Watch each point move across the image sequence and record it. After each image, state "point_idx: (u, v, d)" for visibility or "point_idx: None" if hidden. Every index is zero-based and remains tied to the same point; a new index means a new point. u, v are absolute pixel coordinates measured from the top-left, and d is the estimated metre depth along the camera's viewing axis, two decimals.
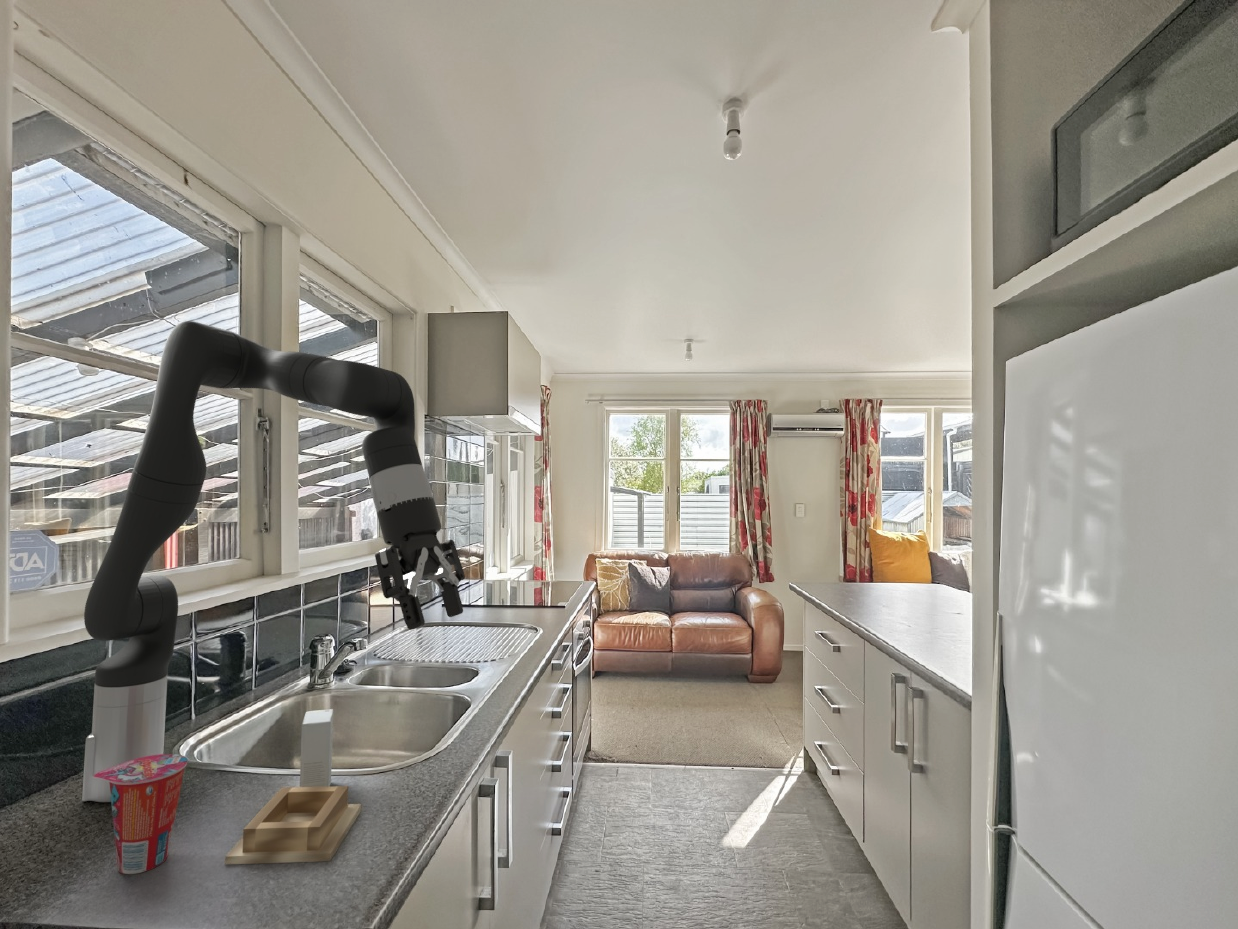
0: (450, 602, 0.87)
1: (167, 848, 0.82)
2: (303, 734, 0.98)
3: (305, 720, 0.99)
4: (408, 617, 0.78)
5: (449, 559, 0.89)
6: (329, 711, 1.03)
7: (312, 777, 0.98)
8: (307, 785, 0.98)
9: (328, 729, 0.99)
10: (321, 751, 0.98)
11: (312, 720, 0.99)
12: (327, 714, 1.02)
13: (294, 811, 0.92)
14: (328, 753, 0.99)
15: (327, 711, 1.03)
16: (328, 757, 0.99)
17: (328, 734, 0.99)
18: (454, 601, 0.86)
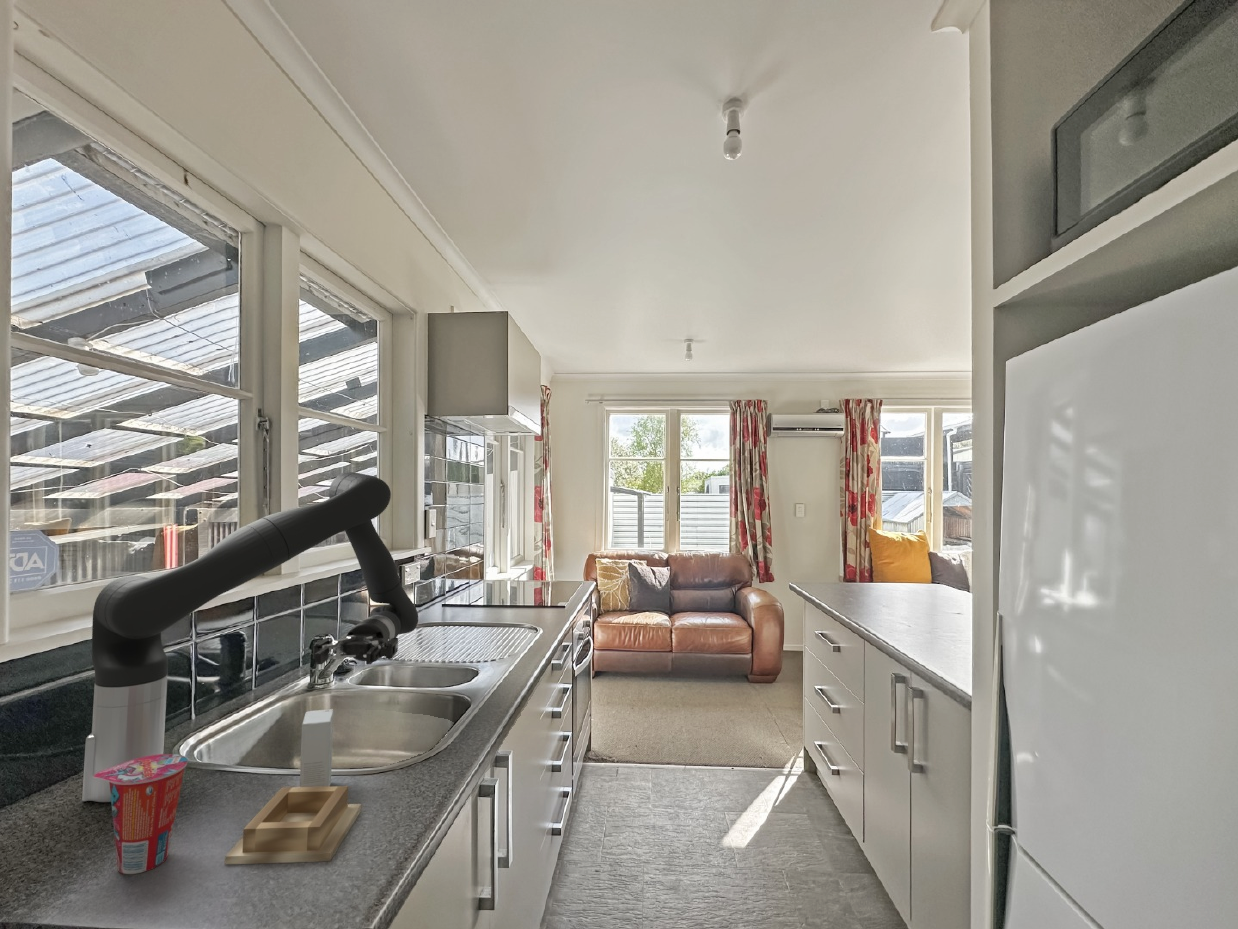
0: (324, 656, 1.14)
1: (167, 848, 0.82)
2: (303, 734, 0.98)
3: (305, 720, 0.99)
4: (375, 655, 1.14)
5: None
6: (329, 711, 1.03)
7: (312, 777, 0.98)
8: (307, 785, 0.98)
9: (328, 729, 0.99)
10: (321, 751, 0.98)
11: (312, 720, 0.99)
12: (327, 715, 1.02)
13: (294, 811, 0.92)
14: (328, 753, 0.99)
15: (327, 711, 1.03)
16: (328, 757, 0.99)
17: (328, 734, 0.99)
18: (324, 659, 1.14)
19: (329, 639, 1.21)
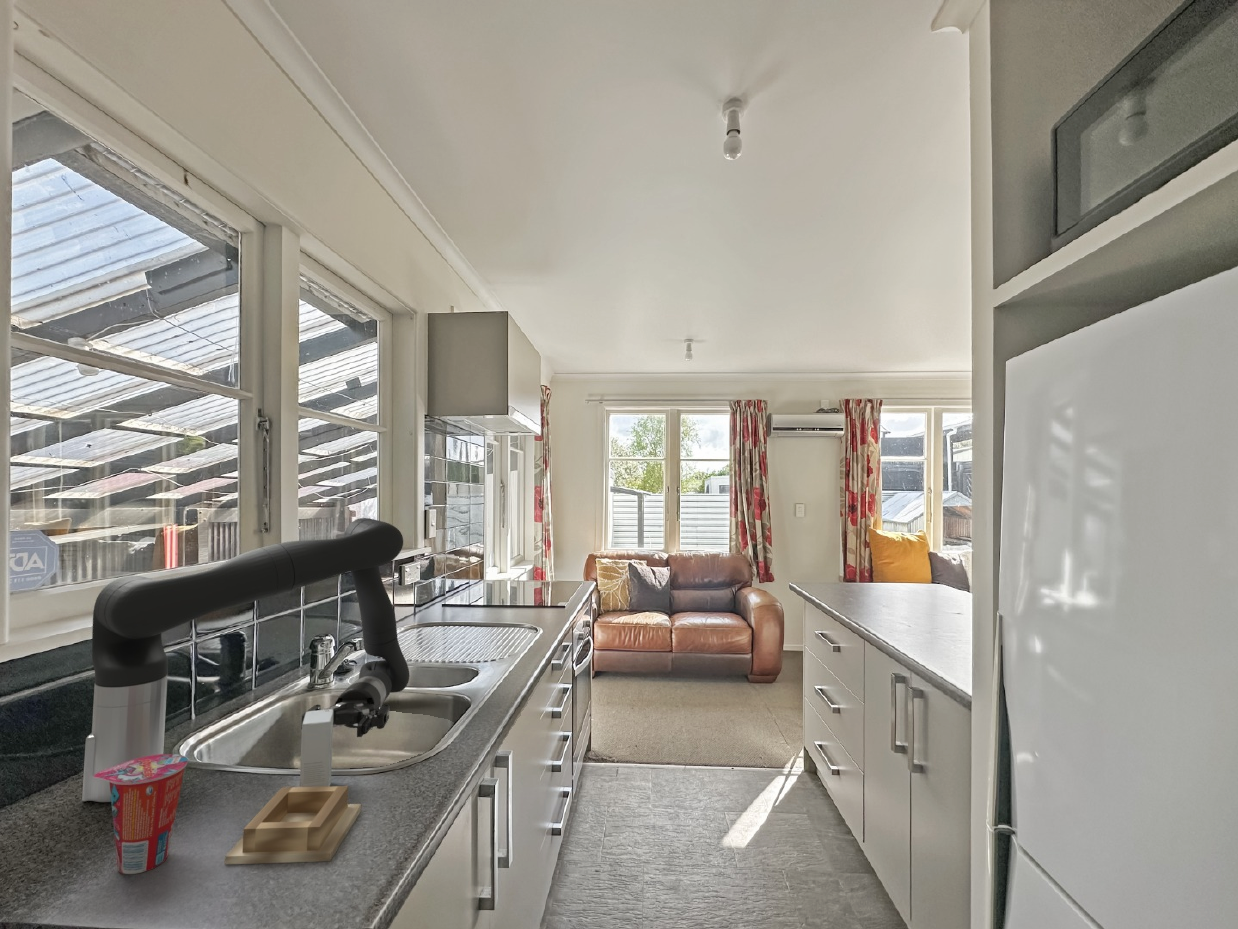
0: None
1: (167, 848, 0.82)
2: (303, 734, 0.98)
3: (305, 720, 0.99)
4: (366, 727, 1.10)
5: None
6: (329, 711, 1.03)
7: (312, 777, 0.98)
8: (307, 785, 0.98)
9: (328, 729, 0.99)
10: (321, 751, 0.98)
11: (312, 720, 0.99)
12: (327, 715, 1.02)
13: (294, 811, 0.92)
14: (328, 753, 0.99)
15: (327, 711, 1.03)
16: (328, 757, 0.99)
17: (328, 734, 0.99)
18: None
19: (318, 707, 1.17)
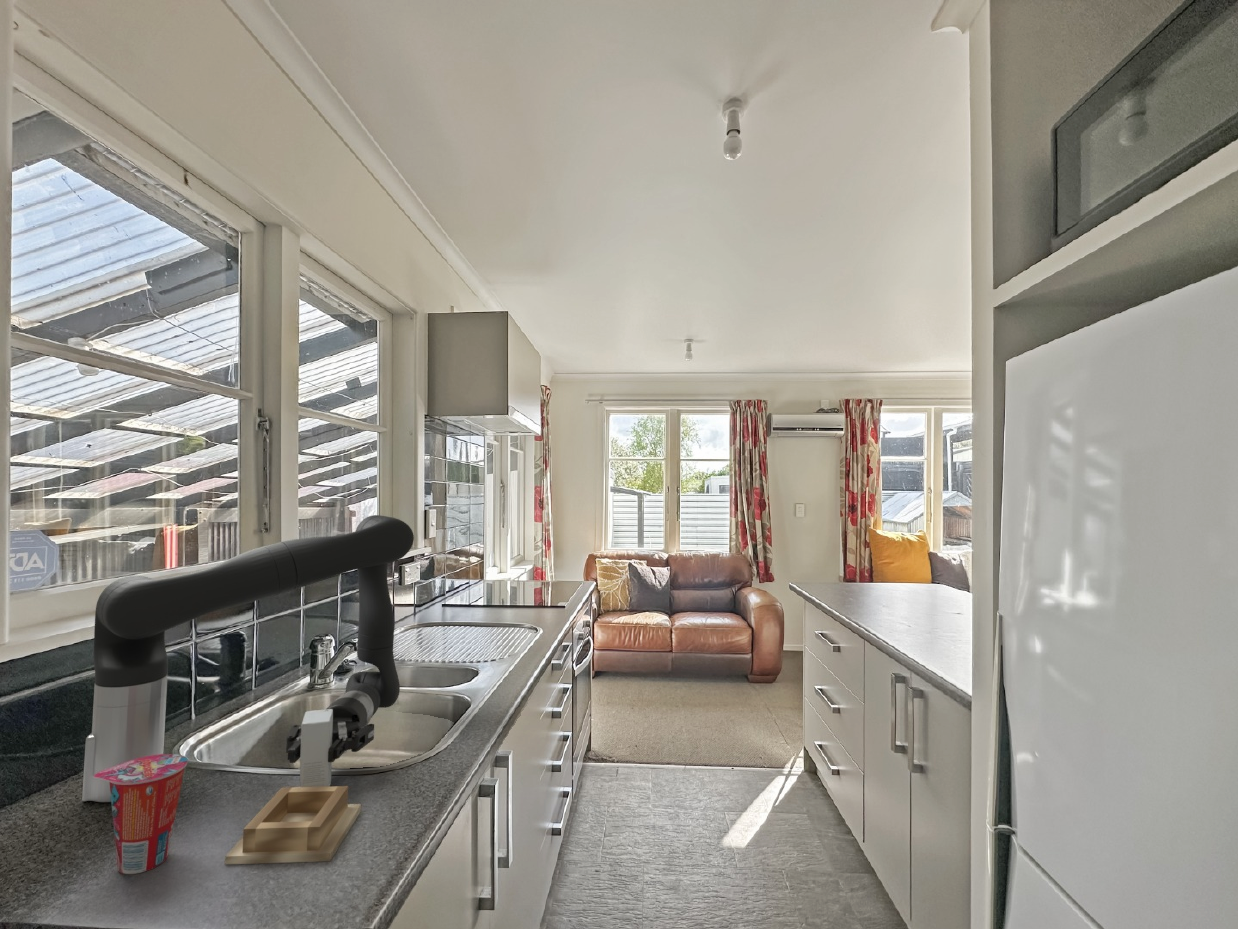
0: (299, 751, 1.00)
1: (167, 848, 0.82)
2: (302, 734, 0.97)
3: (304, 720, 0.99)
4: None
5: None
6: (328, 711, 1.03)
7: (312, 776, 0.98)
8: (307, 785, 0.98)
9: (327, 729, 0.99)
10: (321, 751, 0.98)
11: (311, 720, 0.99)
12: (326, 714, 1.02)
13: (294, 811, 0.92)
14: None
15: (326, 711, 1.03)
16: None
17: (327, 734, 0.99)
18: (298, 755, 1.00)
19: (298, 727, 1.07)
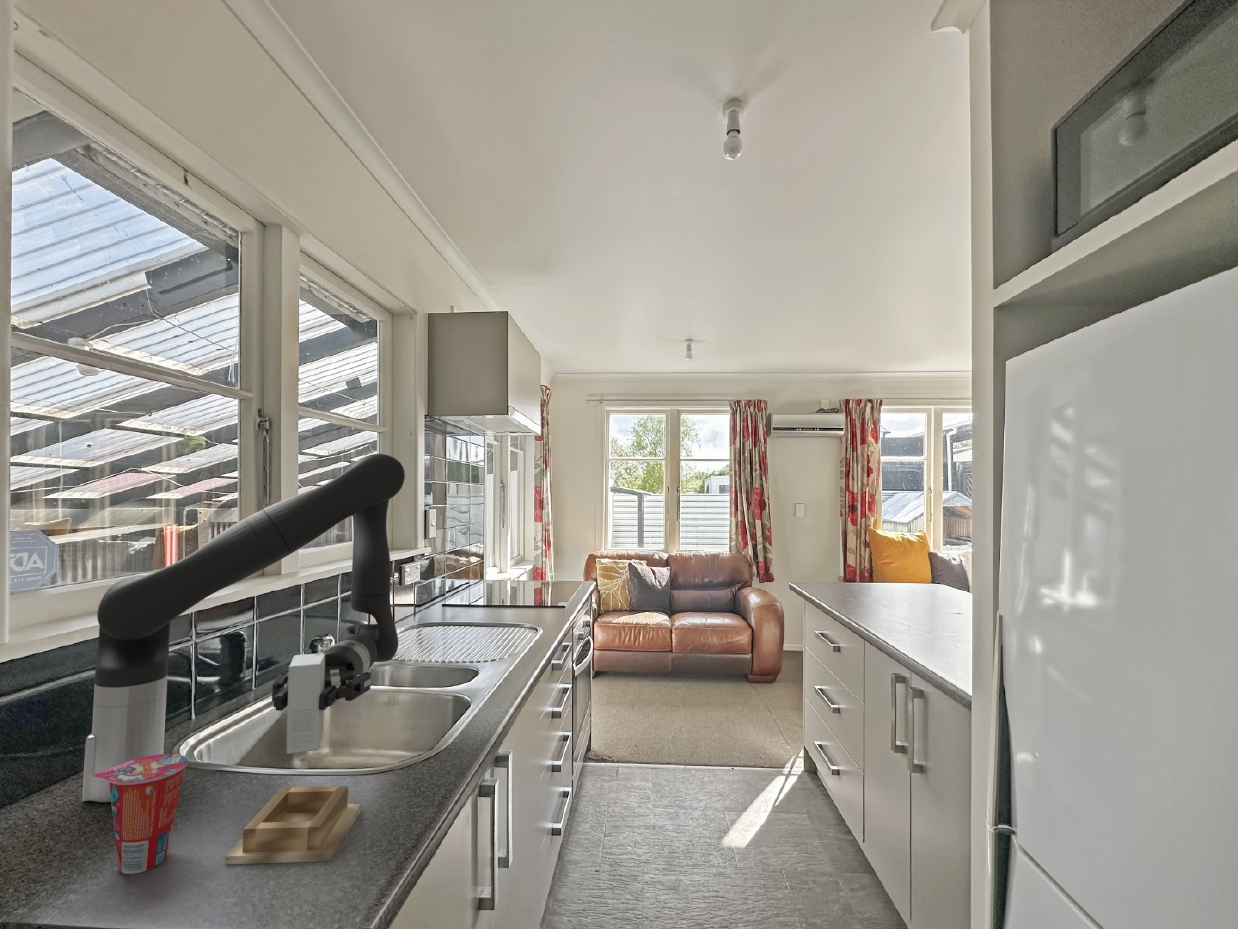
0: (286, 699, 0.89)
1: (167, 848, 0.82)
2: (290, 677, 0.86)
3: (292, 663, 0.88)
4: None
5: None
6: (320, 655, 0.92)
7: (301, 726, 0.87)
8: (295, 735, 0.87)
9: (318, 672, 0.88)
10: (311, 697, 0.87)
11: (300, 662, 0.88)
12: (318, 658, 0.91)
13: (294, 811, 0.92)
14: None
15: (318, 655, 0.92)
16: None
17: (318, 678, 0.88)
18: (286, 703, 0.89)
19: (285, 675, 0.96)
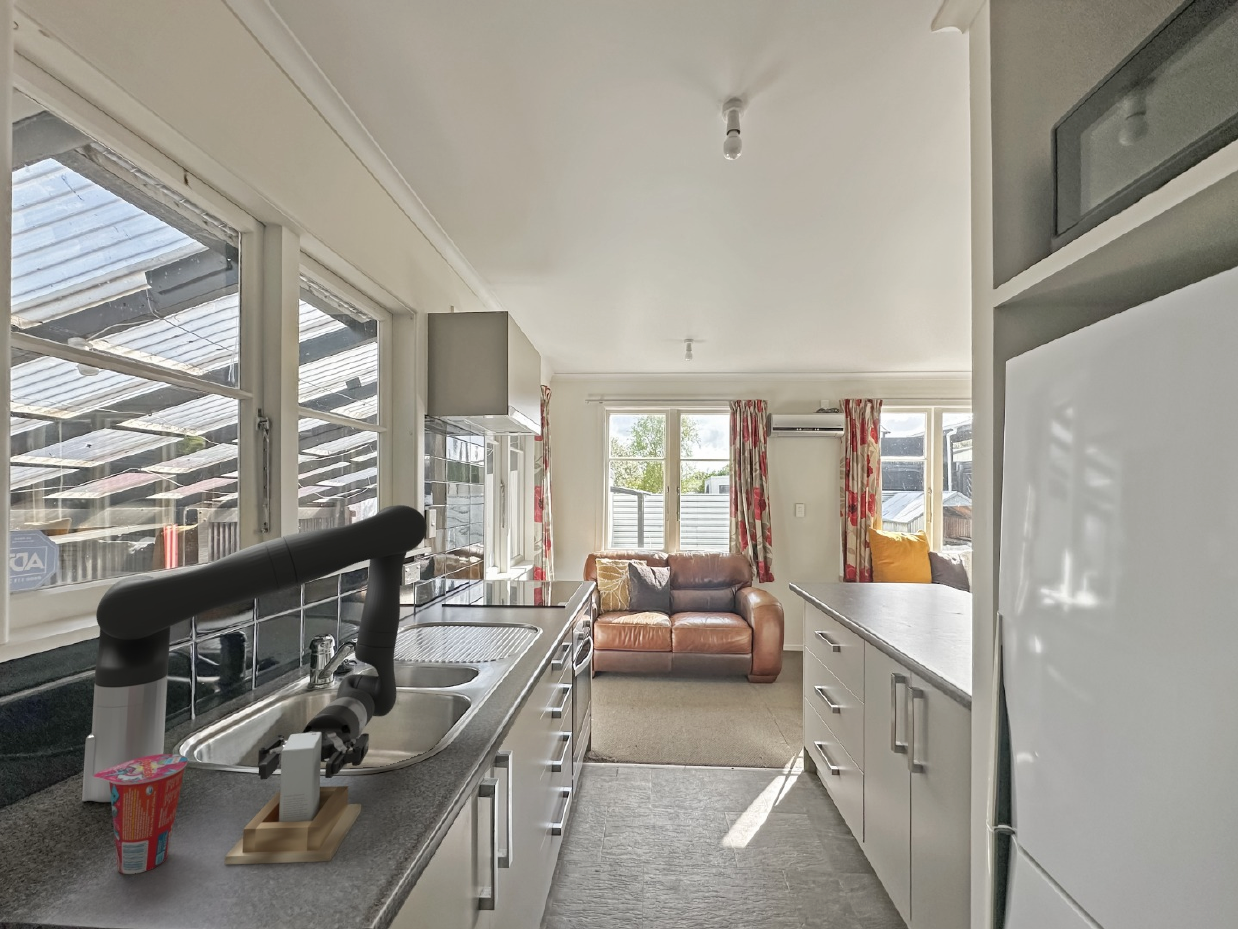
0: (271, 766, 0.88)
1: (167, 848, 0.82)
2: (283, 762, 0.85)
3: (286, 745, 0.87)
4: None
5: None
6: (316, 734, 0.91)
7: (293, 811, 0.85)
8: (287, 820, 0.85)
9: (311, 757, 0.86)
10: (304, 782, 0.86)
11: (294, 745, 0.87)
12: (313, 739, 0.89)
13: None
14: (311, 784, 0.86)
15: (314, 734, 0.91)
16: (311, 789, 0.86)
17: (311, 762, 0.86)
18: (271, 771, 0.88)
19: (281, 737, 0.95)
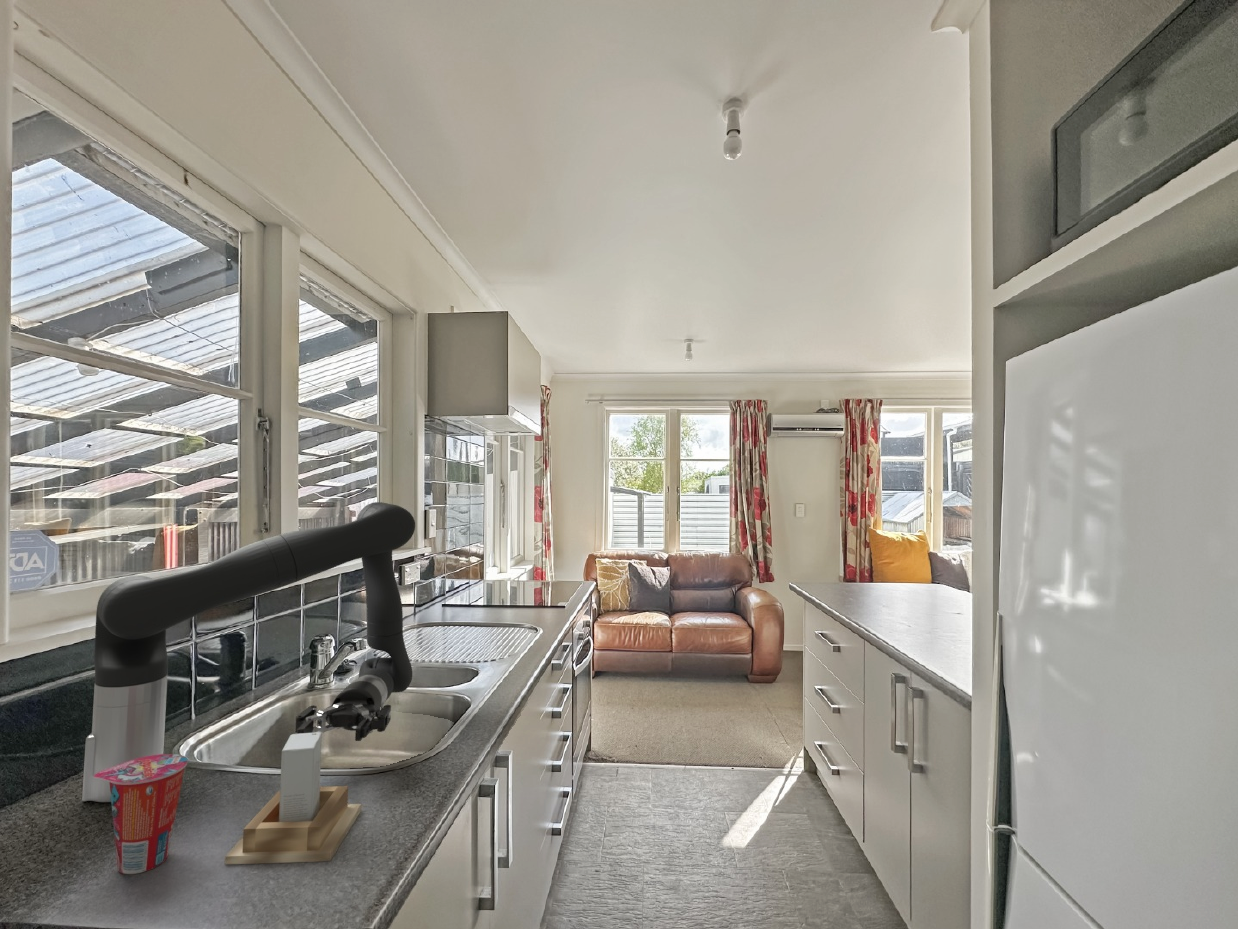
0: (308, 731, 1.01)
1: (167, 848, 0.82)
2: (283, 762, 0.85)
3: (286, 745, 0.87)
4: None
5: None
6: (316, 734, 0.91)
7: (293, 811, 0.85)
8: (287, 820, 0.85)
9: (311, 757, 0.86)
10: (304, 782, 0.86)
11: (294, 745, 0.87)
12: (313, 739, 0.89)
13: None
14: (311, 784, 0.86)
15: (314, 734, 0.91)
16: (311, 789, 0.86)
17: (311, 762, 0.86)
18: None
19: (314, 708, 1.08)
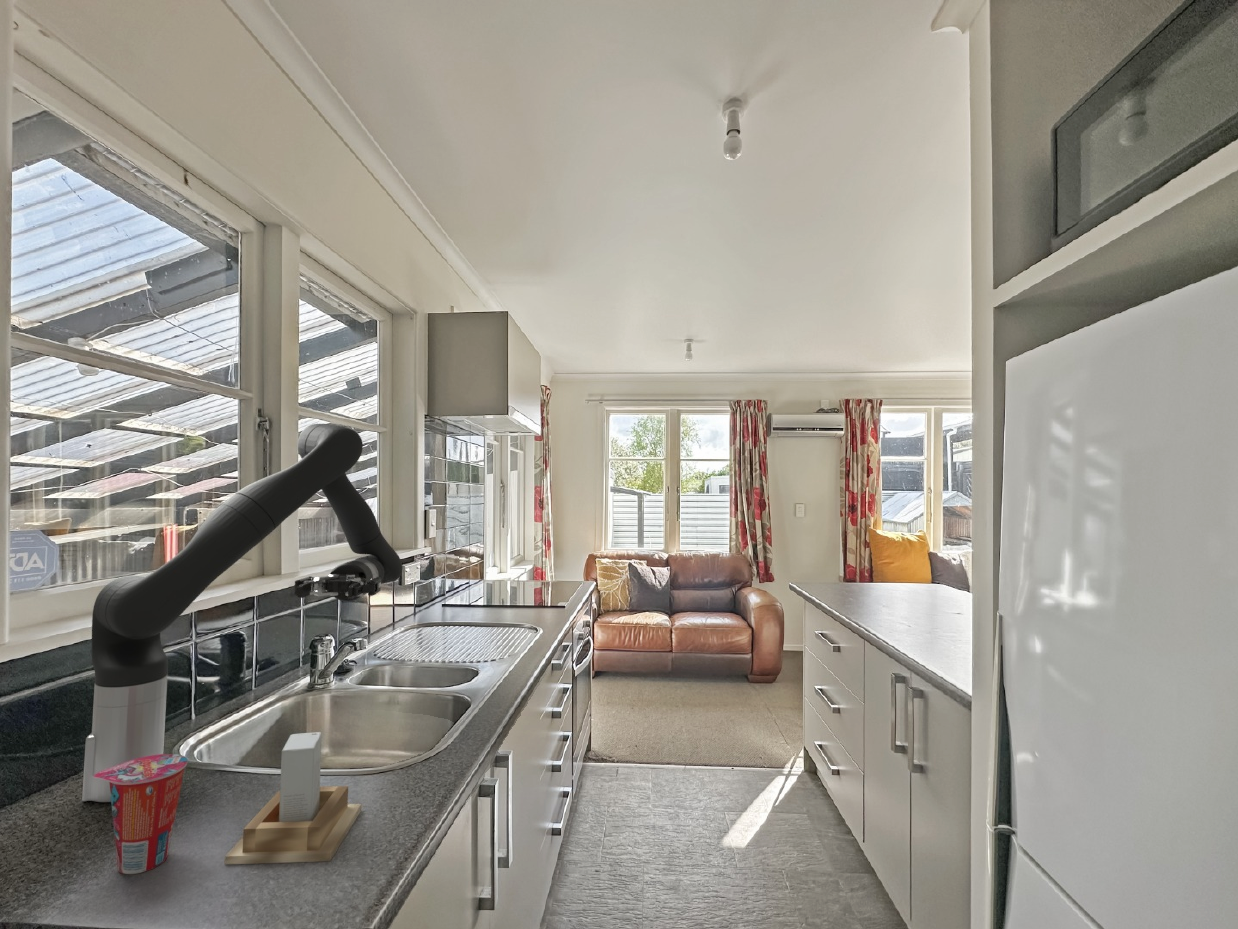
0: (306, 590, 1.13)
1: (167, 848, 0.82)
2: (283, 762, 0.85)
3: (286, 745, 0.87)
4: (357, 590, 1.13)
5: None
6: (316, 734, 0.91)
7: (293, 811, 0.85)
8: (287, 820, 0.85)
9: (311, 757, 0.86)
10: (304, 782, 0.86)
11: (294, 745, 0.87)
12: (313, 739, 0.89)
13: None
14: (311, 784, 0.86)
15: (314, 734, 0.91)
16: (311, 789, 0.86)
17: (311, 762, 0.86)
18: (306, 593, 1.13)
19: (311, 577, 1.20)
